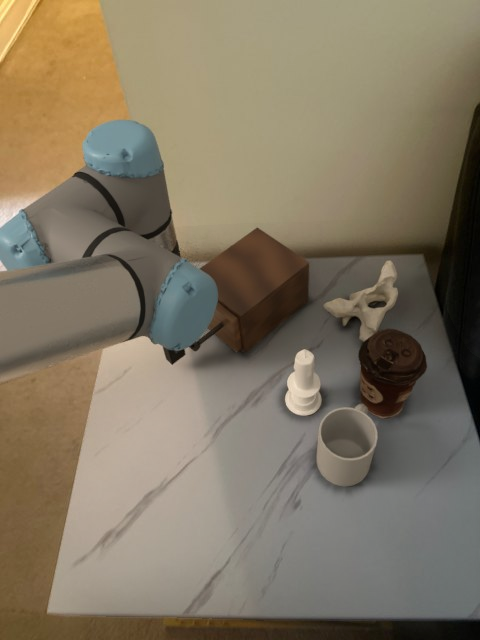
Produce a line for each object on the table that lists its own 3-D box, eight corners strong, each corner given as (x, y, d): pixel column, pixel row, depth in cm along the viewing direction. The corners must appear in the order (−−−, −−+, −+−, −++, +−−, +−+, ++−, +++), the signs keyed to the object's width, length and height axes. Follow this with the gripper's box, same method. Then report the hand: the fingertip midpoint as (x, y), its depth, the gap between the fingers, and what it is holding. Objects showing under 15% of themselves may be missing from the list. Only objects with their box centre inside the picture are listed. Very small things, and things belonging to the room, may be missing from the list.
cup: (307, 473, 76) (309, 444, 69) (336, 414, 81) (340, 382, 74) (357, 497, 74) (364, 470, 67) (384, 434, 79) (393, 403, 72)
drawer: (207, 376, 86) (200, 347, 80) (164, 338, 91) (155, 308, 85) (296, 304, 93) (296, 272, 87) (252, 272, 98) (250, 240, 92)
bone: (326, 329, 92) (320, 296, 86) (370, 273, 98) (367, 239, 92) (375, 350, 87) (372, 317, 81) (418, 290, 93) (418, 255, 87)
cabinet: (245, 353, 89) (240, 316, 81) (197, 313, 95) (189, 275, 87) (308, 301, 94) (309, 262, 87) (259, 266, 100) (257, 227, 92)
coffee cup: (361, 431, 80) (372, 383, 69) (343, 382, 85) (350, 330, 74) (420, 417, 80) (439, 368, 70) (398, 369, 85) (413, 317, 75)
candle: (284, 384, 85) (284, 338, 76) (320, 384, 85) (324, 337, 75) (285, 416, 82) (284, 372, 72) (322, 416, 81) (326, 371, 72)
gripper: (205, 256, 66) (222, 367, 85) (139, 206, 73) (168, 320, 91) (155, 291, 63) (184, 398, 82) (91, 236, 70) (131, 347, 88)
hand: (175, 356), depth 86 cm, fingers closed
